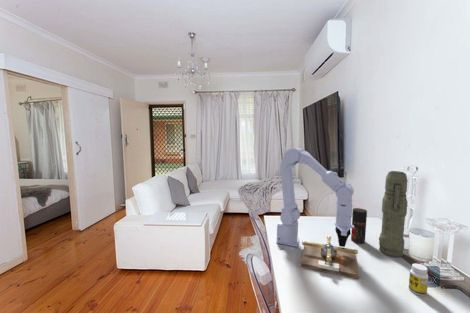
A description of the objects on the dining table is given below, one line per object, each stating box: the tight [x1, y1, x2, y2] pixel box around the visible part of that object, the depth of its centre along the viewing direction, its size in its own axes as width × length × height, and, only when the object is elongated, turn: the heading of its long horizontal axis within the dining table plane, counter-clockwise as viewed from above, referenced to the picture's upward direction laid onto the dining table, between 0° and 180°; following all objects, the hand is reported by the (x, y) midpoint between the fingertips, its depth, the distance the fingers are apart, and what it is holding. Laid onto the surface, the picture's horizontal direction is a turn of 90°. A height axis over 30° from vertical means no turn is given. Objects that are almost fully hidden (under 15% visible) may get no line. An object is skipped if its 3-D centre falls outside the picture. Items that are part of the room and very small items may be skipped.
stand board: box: [299, 243, 360, 280], centre depth 97 cm, size 20×20×2 cm
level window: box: [318, 260, 339, 272], centre depth 88 cm, size 7×3×2 cm, turn 69°
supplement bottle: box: [408, 263, 429, 297], centre depth 78 cm, size 5×5×8 cm
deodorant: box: [350, 207, 368, 244], centre depth 114 cm, size 6×6×15 cm
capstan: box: [301, 235, 359, 264], centre depth 97 cm, size 21×21×4 cm
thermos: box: [378, 170, 409, 258], centre depth 102 cm, size 9×12×35 cm
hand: (341, 246), depth 99 cm, fingers closed
